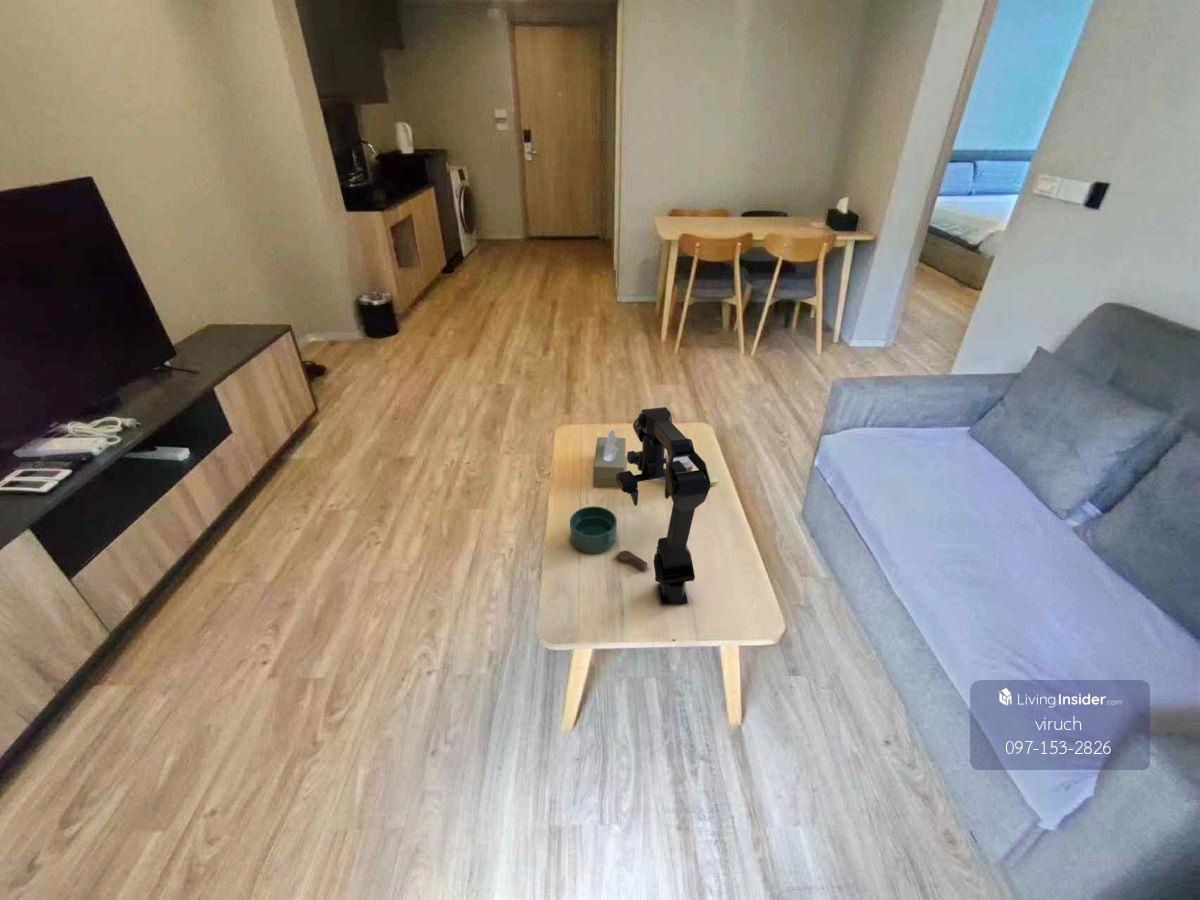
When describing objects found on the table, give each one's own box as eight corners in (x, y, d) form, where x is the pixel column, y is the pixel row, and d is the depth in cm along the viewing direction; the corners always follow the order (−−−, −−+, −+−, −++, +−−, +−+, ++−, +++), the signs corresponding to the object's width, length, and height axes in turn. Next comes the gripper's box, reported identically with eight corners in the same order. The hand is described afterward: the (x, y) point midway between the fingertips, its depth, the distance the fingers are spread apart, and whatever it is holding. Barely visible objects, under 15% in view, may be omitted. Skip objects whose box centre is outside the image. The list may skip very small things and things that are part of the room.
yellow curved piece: (639, 485, 174) (717, 491, 171) (639, 479, 172) (718, 484, 170) (641, 472, 180) (716, 477, 178) (641, 465, 179) (717, 470, 176)
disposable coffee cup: (698, 490, 171) (701, 459, 165) (671, 497, 168) (674, 466, 162) (683, 475, 178) (686, 444, 172) (657, 481, 176) (659, 450, 169)
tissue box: (623, 488, 172) (624, 447, 164) (593, 487, 173) (592, 446, 165) (625, 456, 188) (626, 417, 180) (597, 455, 189) (597, 416, 180)
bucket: (618, 553, 147) (618, 535, 144) (570, 555, 147) (570, 537, 143) (614, 522, 158) (614, 505, 155) (570, 524, 158) (569, 507, 154)
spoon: (649, 566, 143) (650, 560, 142) (641, 574, 141) (641, 568, 140) (624, 551, 148) (624, 545, 147) (615, 558, 146) (615, 552, 145)
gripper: (672, 432, 147) (669, 479, 155) (608, 444, 141) (608, 492, 150) (691, 452, 138) (686, 500, 146) (624, 465, 132) (623, 515, 141)
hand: (650, 501), depth 146 cm, fingers open, 9 cm apart
